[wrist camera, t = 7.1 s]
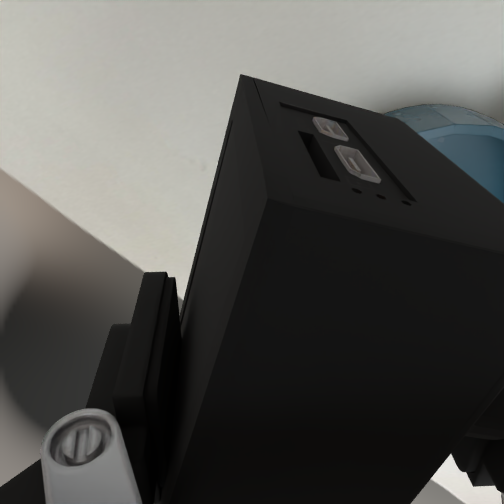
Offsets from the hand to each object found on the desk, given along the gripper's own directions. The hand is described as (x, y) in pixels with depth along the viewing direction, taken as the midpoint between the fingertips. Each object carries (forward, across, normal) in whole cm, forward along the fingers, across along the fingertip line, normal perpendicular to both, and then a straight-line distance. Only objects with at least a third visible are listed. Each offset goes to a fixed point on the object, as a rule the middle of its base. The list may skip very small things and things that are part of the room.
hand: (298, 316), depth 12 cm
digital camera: (+2, 0, 0) cm, 2 cm away
